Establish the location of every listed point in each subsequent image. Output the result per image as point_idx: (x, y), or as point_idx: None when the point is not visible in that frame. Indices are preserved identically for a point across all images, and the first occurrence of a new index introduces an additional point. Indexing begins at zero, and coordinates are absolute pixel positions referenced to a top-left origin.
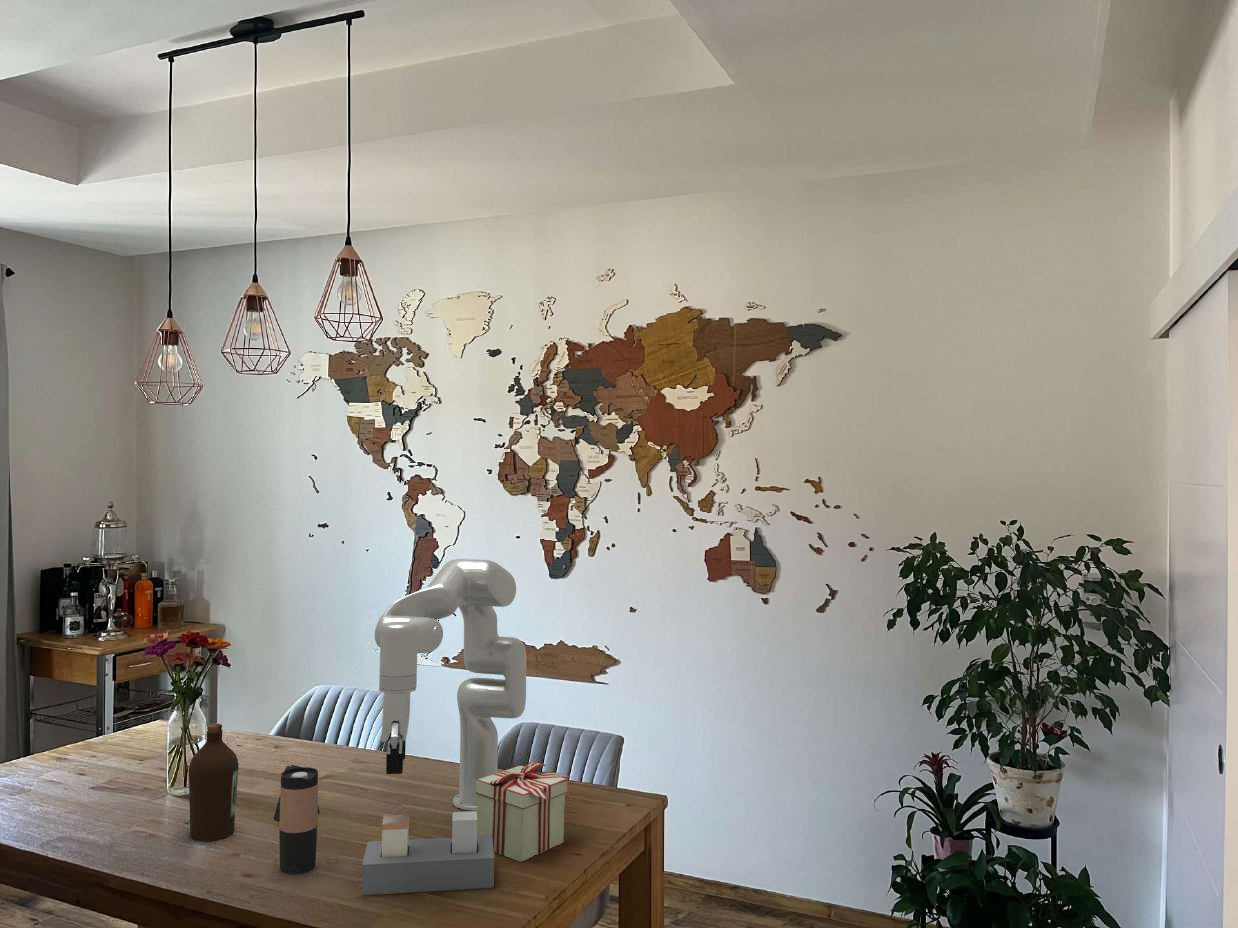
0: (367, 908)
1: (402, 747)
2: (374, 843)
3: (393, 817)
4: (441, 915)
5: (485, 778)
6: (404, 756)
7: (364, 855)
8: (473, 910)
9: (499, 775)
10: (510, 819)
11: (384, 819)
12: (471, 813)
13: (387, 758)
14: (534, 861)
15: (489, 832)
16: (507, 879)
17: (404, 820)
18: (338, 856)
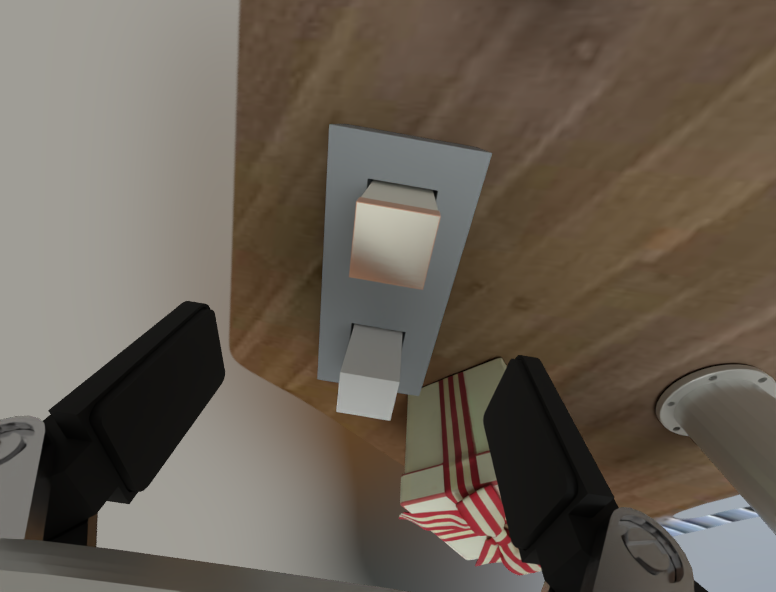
0: (280, 133)
1: (506, 487)
2: (470, 171)
3: (408, 243)
4: (242, 261)
5: None
6: (488, 433)
7: (393, 135)
8: (256, 306)
9: None
10: (431, 439)
11: (398, 213)
12: (378, 410)
13: (96, 380)
14: (404, 406)
15: (473, 391)
16: None
17: (372, 270)
18: (605, 71)
